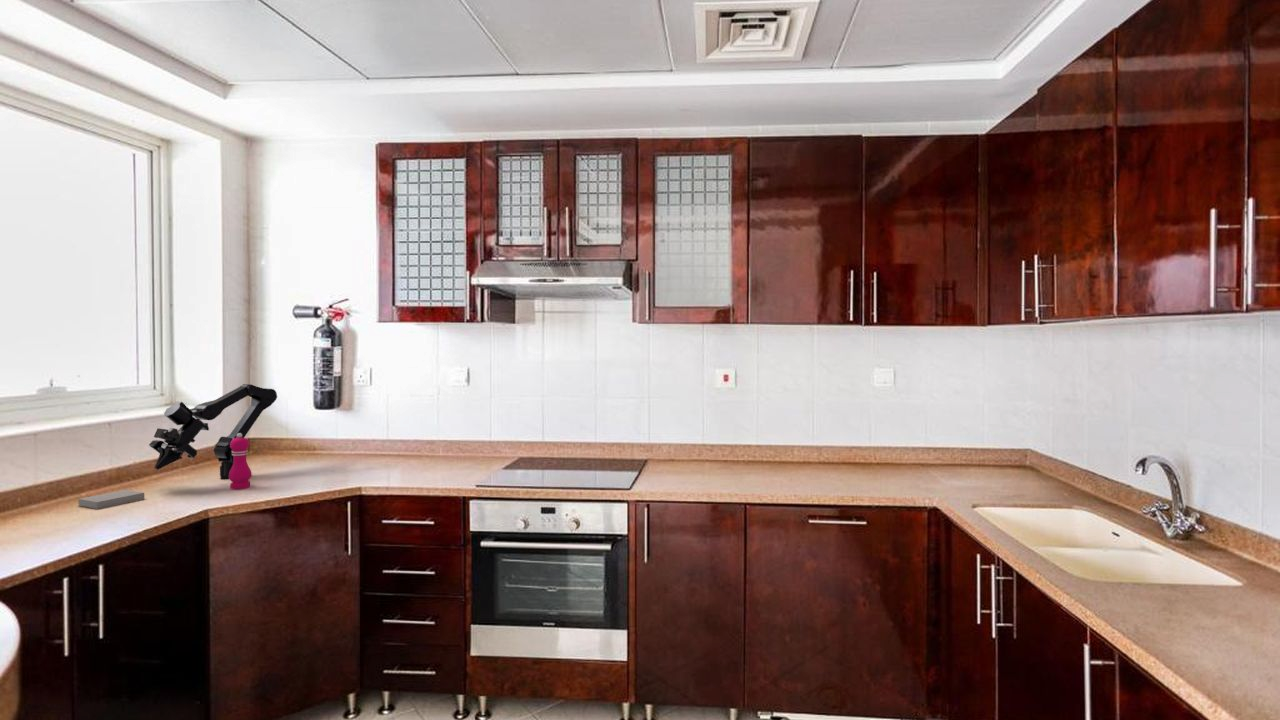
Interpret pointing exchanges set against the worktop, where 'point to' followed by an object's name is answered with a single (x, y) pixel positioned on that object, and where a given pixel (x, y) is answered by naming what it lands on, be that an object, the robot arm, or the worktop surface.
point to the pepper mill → (239, 463)
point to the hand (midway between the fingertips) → (156, 468)
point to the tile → (111, 499)
